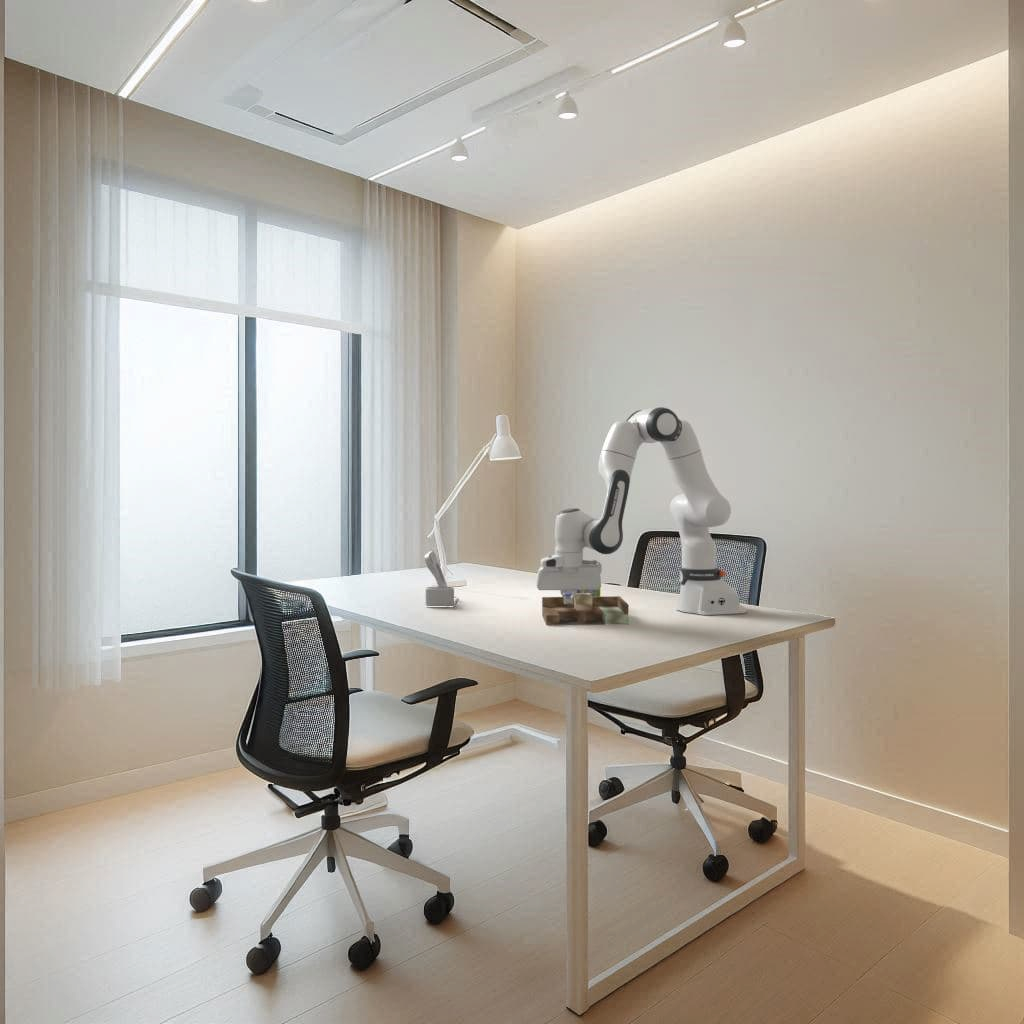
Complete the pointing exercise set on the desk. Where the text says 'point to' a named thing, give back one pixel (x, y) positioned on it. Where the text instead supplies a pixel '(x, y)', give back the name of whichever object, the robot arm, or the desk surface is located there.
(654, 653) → the desk surface
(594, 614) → the track
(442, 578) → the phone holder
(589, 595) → the maple block
